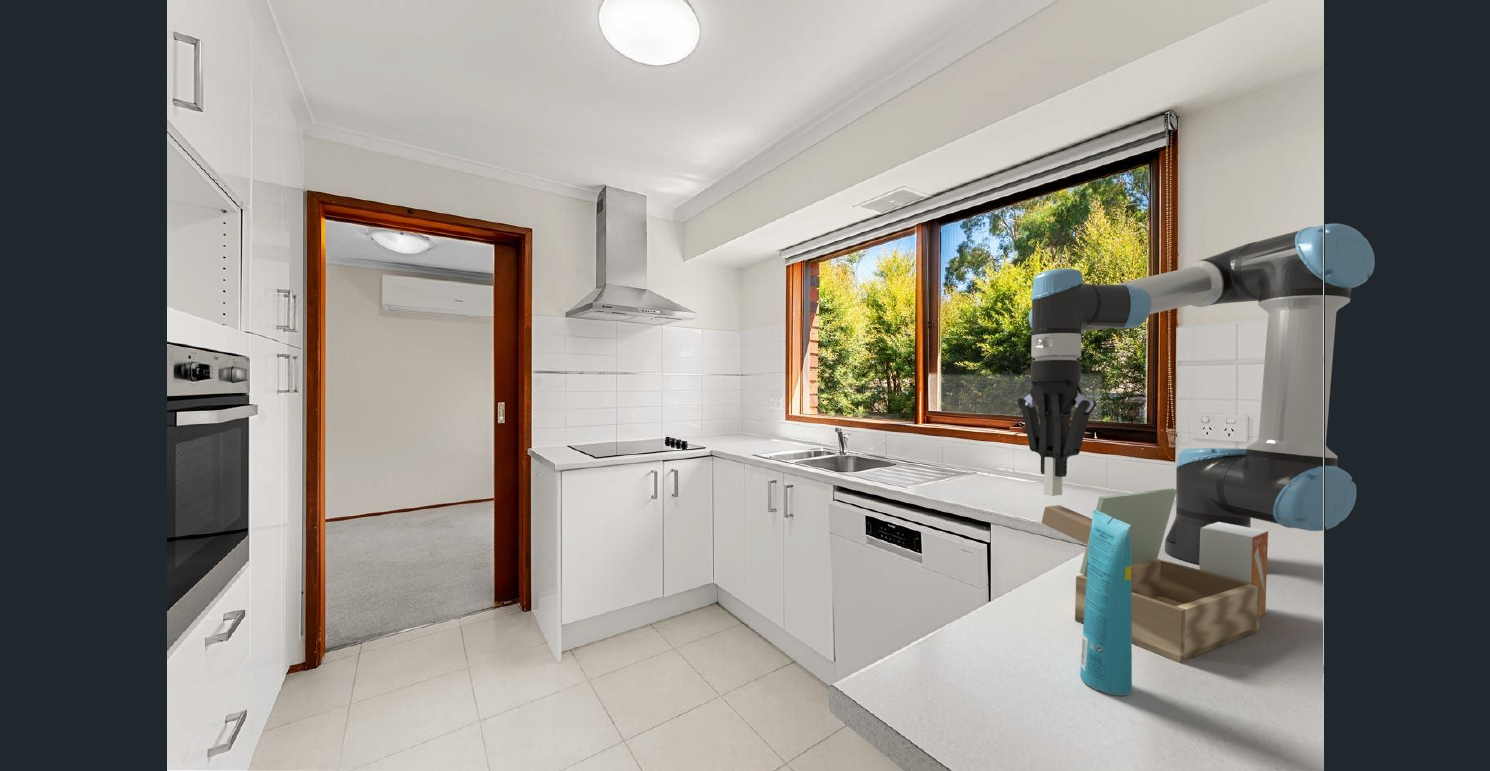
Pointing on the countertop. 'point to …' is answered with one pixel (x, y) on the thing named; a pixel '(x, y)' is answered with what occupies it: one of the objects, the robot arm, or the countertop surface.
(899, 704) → the countertop surface
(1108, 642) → the tube
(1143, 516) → the lid
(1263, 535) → the small box
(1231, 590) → the crate
